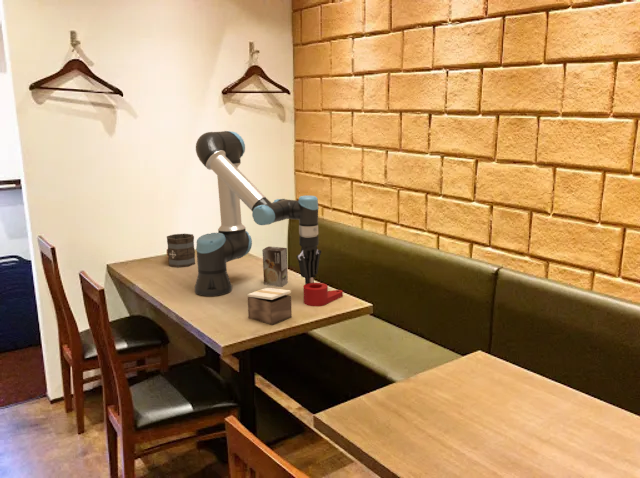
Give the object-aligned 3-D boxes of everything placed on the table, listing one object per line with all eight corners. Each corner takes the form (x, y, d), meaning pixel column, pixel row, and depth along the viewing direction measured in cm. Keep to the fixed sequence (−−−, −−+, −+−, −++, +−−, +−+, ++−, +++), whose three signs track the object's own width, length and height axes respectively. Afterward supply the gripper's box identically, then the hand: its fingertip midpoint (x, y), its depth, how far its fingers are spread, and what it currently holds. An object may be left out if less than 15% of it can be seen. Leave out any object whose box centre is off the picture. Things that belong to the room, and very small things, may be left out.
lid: (247, 296, 203) (247, 294, 203) (266, 289, 211) (266, 287, 210) (271, 299, 195) (271, 297, 195) (290, 292, 203) (290, 290, 203)
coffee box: (288, 283, 246) (287, 247, 242) (282, 287, 240) (281, 251, 236) (269, 281, 249) (268, 246, 245) (263, 285, 243) (261, 249, 240)
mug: (201, 266, 274) (199, 236, 271) (175, 272, 266) (173, 240, 262) (182, 259, 289) (180, 230, 286) (157, 264, 280) (155, 234, 277)
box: (248, 317, 205) (247, 296, 203) (267, 310, 212) (267, 289, 211) (272, 325, 197) (271, 303, 196) (291, 317, 205) (291, 296, 203)
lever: (313, 308, 215) (313, 291, 213) (298, 301, 222) (298, 285, 220) (349, 298, 225) (349, 282, 224) (334, 292, 233) (334, 277, 231)
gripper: (305, 239, 214) (306, 299, 219) (326, 233, 224) (327, 290, 229) (290, 237, 219) (291, 295, 224) (311, 231, 228) (312, 287, 234)
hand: (309, 293), depth 226 cm, fingers closed
